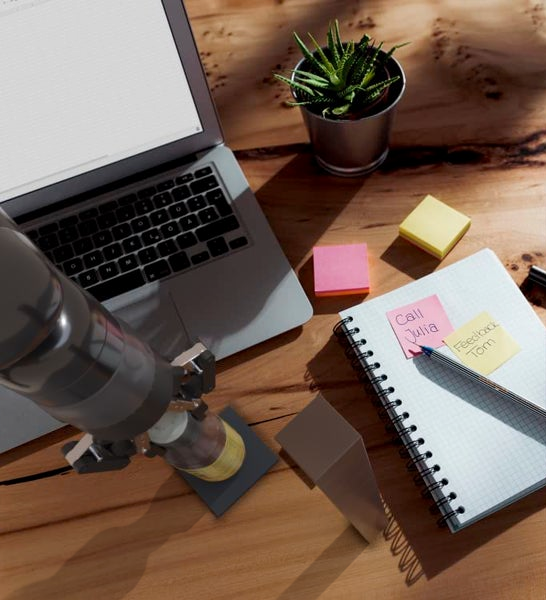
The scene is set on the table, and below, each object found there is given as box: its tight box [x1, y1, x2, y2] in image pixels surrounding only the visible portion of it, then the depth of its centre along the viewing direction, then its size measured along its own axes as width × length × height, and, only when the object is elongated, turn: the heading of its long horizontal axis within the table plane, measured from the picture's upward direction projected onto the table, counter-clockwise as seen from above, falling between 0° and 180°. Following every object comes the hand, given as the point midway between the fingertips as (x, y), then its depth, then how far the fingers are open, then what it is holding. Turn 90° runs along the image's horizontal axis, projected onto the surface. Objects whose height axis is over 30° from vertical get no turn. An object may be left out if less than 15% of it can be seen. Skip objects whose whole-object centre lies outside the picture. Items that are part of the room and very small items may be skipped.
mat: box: [175, 405, 280, 518], centre depth 76 cm, size 9×9×1 cm
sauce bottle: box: [147, 409, 246, 481], centre depth 66 cm, size 6×6×20 cm
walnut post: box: [273, 393, 390, 544], centre depth 52 cm, size 3×3×46 cm
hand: (178, 429), depth 61 cm, fingers closed on sauce bottle, 4 cm apart
